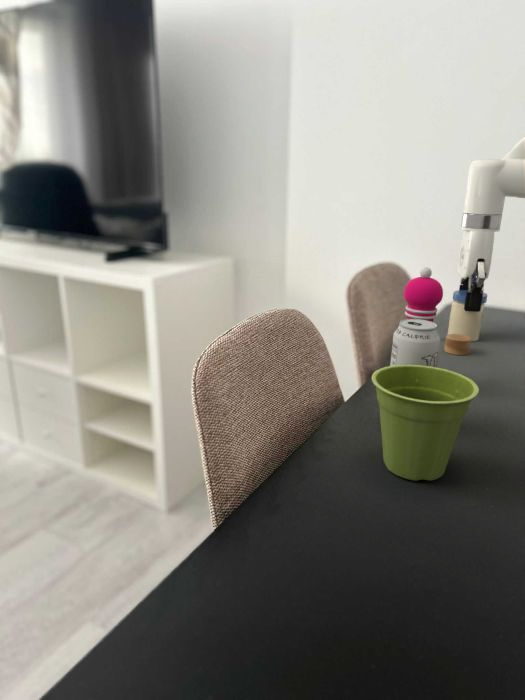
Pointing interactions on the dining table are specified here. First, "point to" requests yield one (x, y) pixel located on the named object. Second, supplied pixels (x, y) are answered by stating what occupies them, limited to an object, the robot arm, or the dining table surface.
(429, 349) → the energy drink can
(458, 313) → the jar
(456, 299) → the jar lid
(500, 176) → the robot arm
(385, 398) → the plant pot
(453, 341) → the stand
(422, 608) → the dining table surface
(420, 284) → the pepper mill
